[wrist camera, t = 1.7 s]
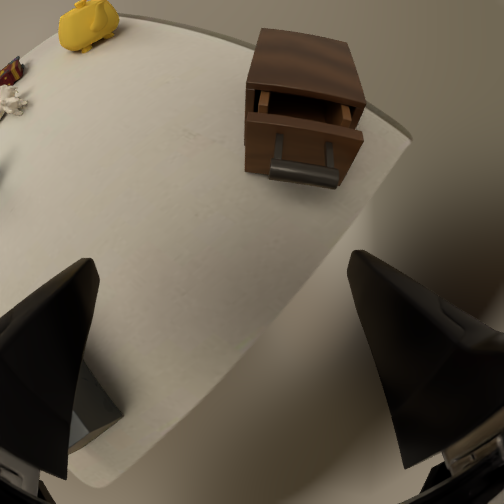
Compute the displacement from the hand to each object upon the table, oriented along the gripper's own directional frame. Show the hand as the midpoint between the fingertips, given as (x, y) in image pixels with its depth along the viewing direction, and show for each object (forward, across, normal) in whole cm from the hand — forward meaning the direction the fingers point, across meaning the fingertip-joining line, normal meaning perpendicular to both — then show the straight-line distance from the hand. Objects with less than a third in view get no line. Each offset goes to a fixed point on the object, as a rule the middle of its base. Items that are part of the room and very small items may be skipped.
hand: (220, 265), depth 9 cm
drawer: (+21, -7, +1) cm, 22 cm away
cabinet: (+27, -8, -3) cm, 28 cm away
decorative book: (+53, +61, -19) cm, 83 cm away
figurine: (+38, +44, -8) cm, 58 cm away
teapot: (+55, +30, -22) cm, 67 cm away
